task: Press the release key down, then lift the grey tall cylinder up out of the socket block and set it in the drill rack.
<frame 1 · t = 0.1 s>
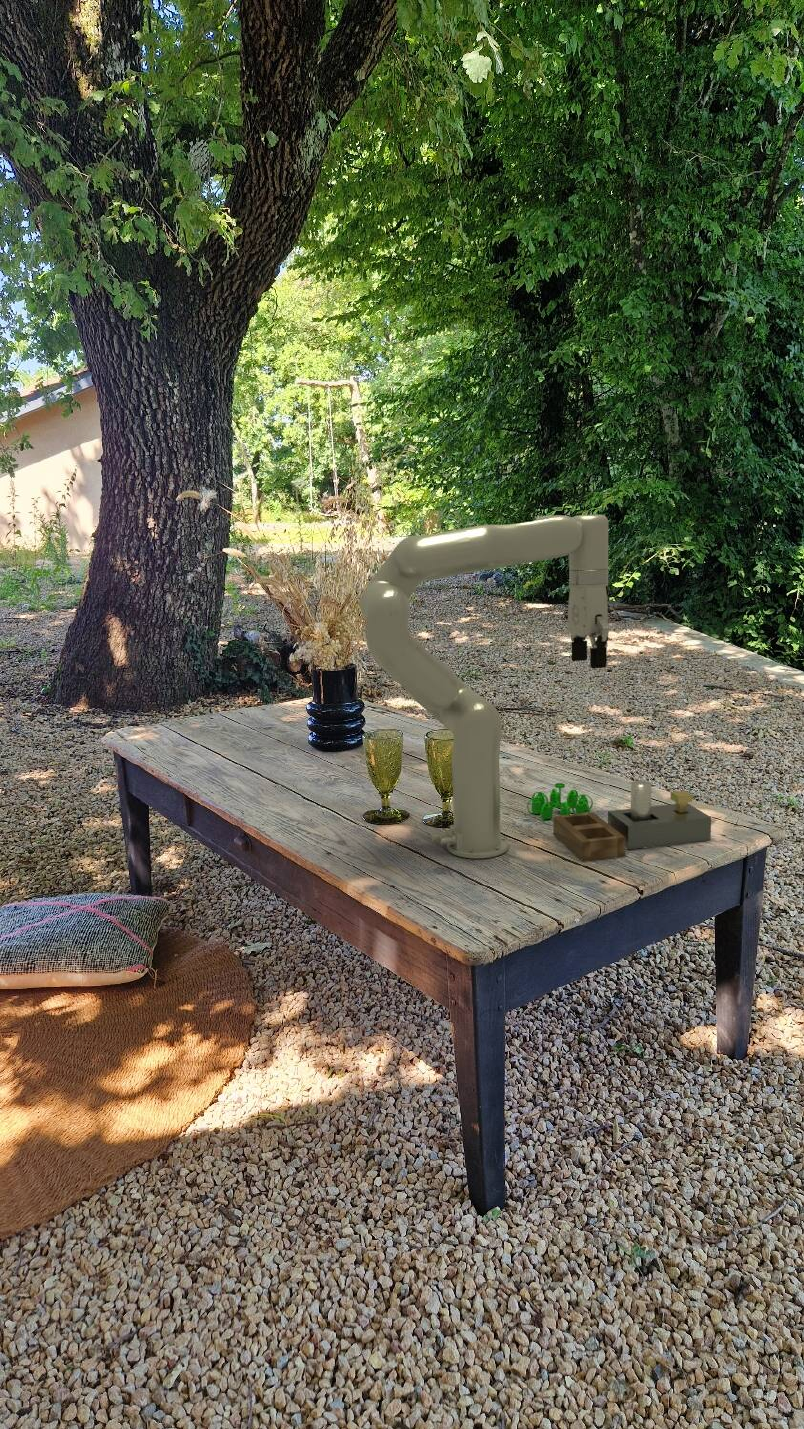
hand: (588, 663, 183), 37 cm above the table, tool pointing down, fingers open, 9 cm apart
chandelier: (560, 814, 206), on the table
drill rack: (587, 845, 185), on the table
socket block: (658, 837, 188), on the table
release key: (681, 808, 188), point 6 cm above the table, slide at 0.0 cm
grey tall cylinder: (640, 839, 187), resting in socket block
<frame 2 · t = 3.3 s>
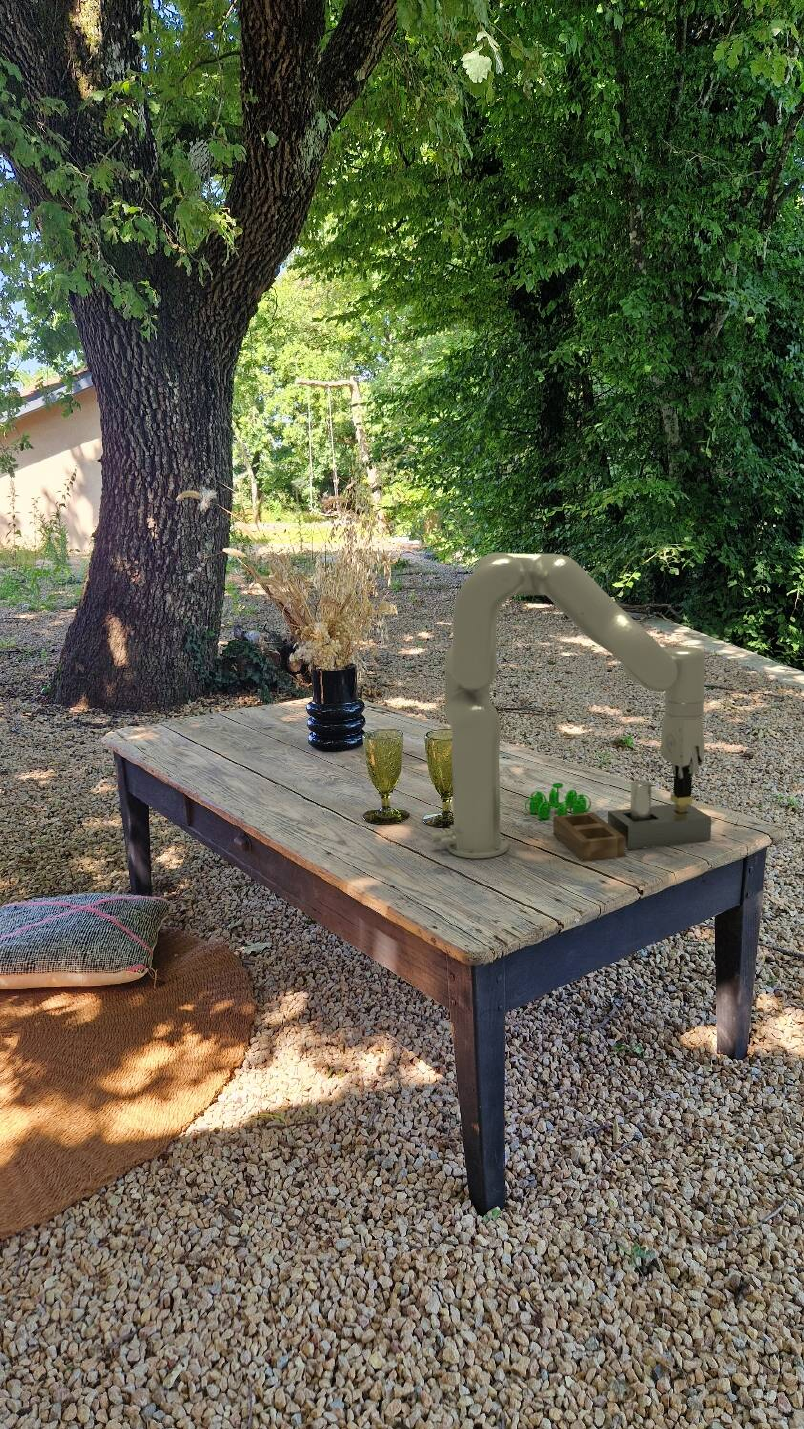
hand: (682, 794, 187), 9 cm above the table, tool pointing down, fingers closed
release key: (681, 810, 188), point 5 cm above the table, slide at 0.4 cm, touching gripper
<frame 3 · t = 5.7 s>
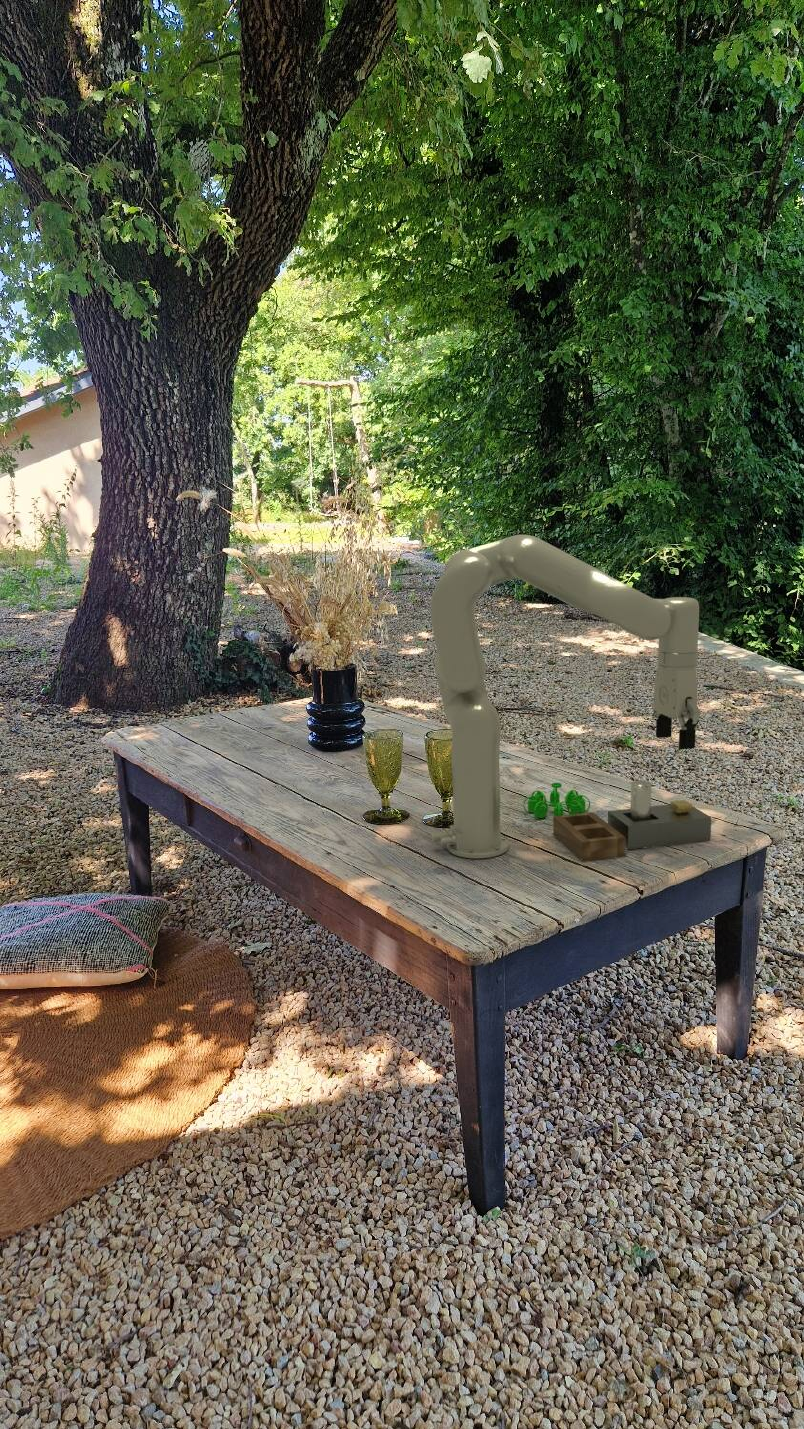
hand: (674, 742, 184), 20 cm above the table, tool pointing down, fingers open, 9 cm apart
release key: (680, 818, 188), point 4 cm above the table, slide at 2.1 cm
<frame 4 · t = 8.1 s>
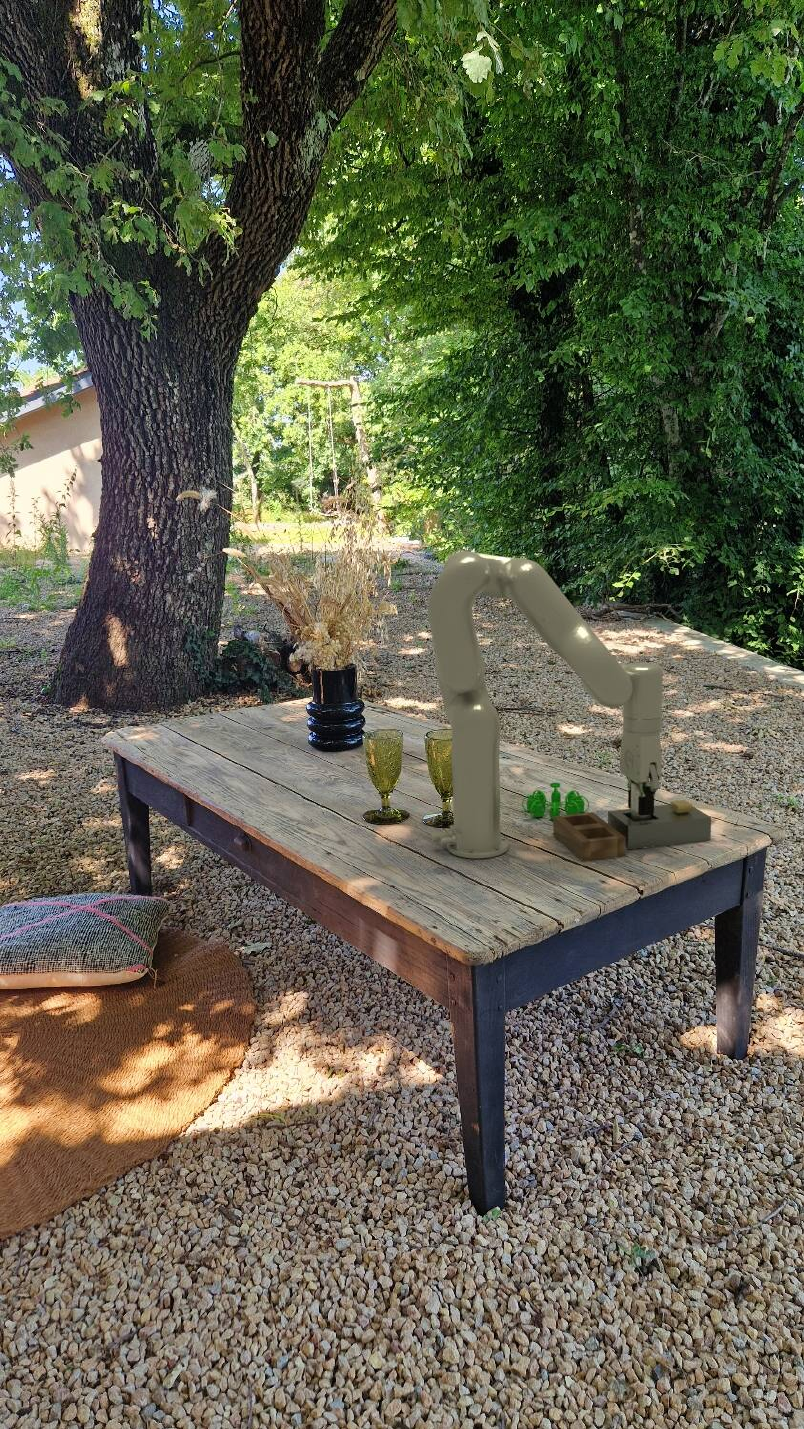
hand: (640, 810, 186), 6 cm above the table, tool pointing down, fingers closed on grey tall cylinder, 4 cm apart
grey tall cylinder: (640, 839, 187), resting in socket block, touching gripper
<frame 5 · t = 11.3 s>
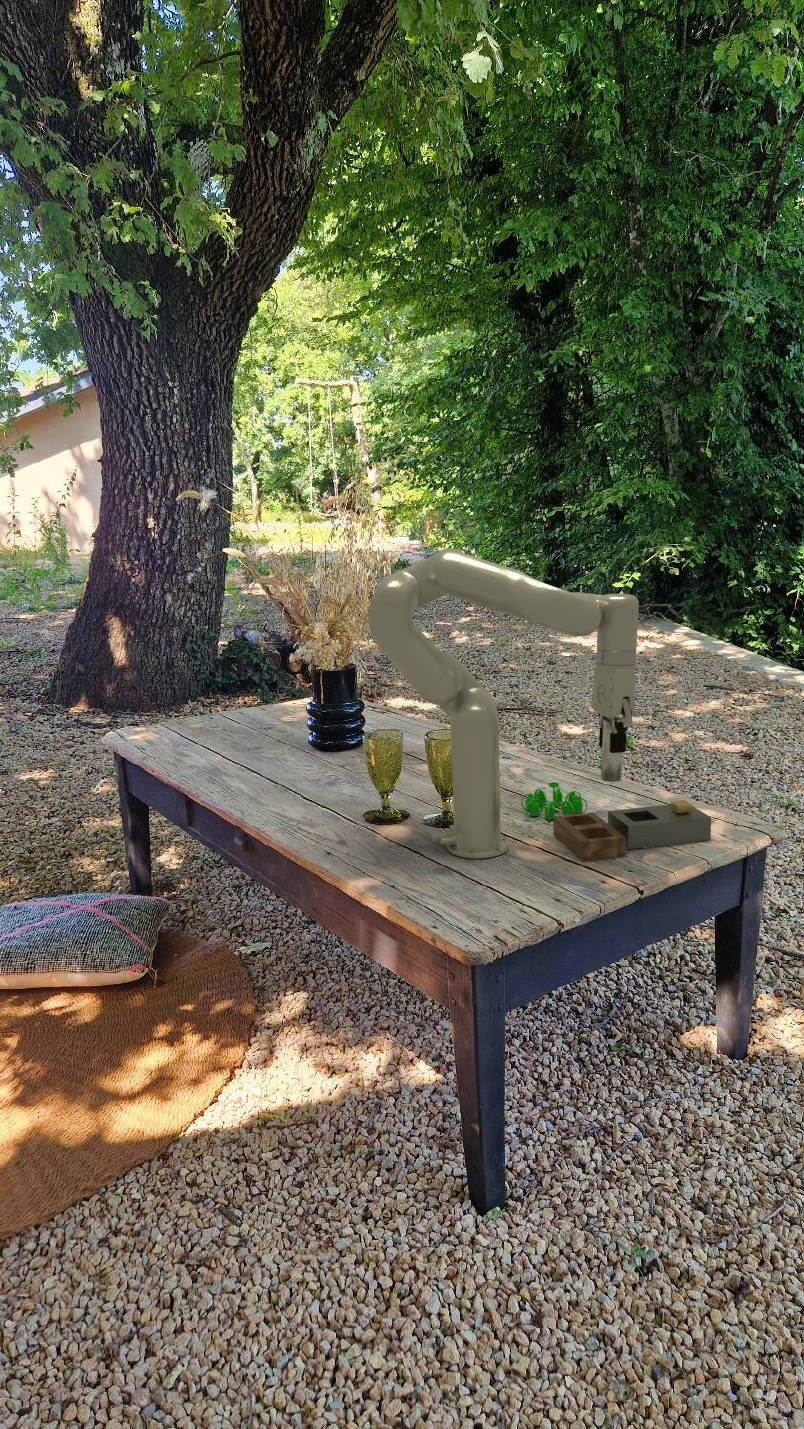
hand: (612, 748, 180), 21 cm above the table, tool pointing down, fingers closed on grey tall cylinder, 4 cm apart
grey tall cylinder: (611, 778, 181), point 14 cm above the table, touching gripper
when the fingers open (8 cm above the table, at t = 14.4 s): grey tall cylinder drops 2 cm, resting in drill rack.
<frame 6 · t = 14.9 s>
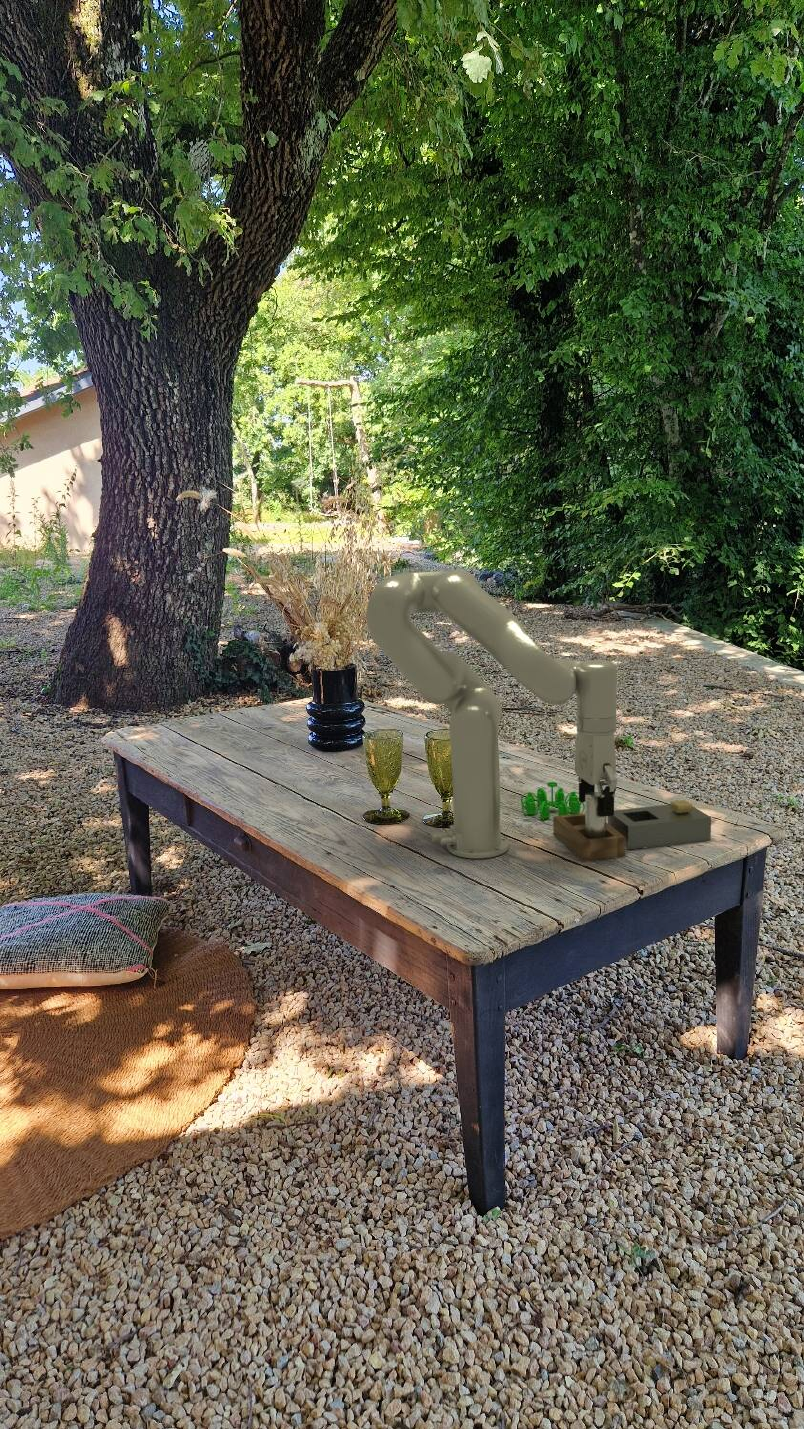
hand: (595, 808, 180), 9 cm above the table, tool pointing down, fingers open, 9 cm apart
grey tall cylinder: (595, 851, 182), resting in drill rack
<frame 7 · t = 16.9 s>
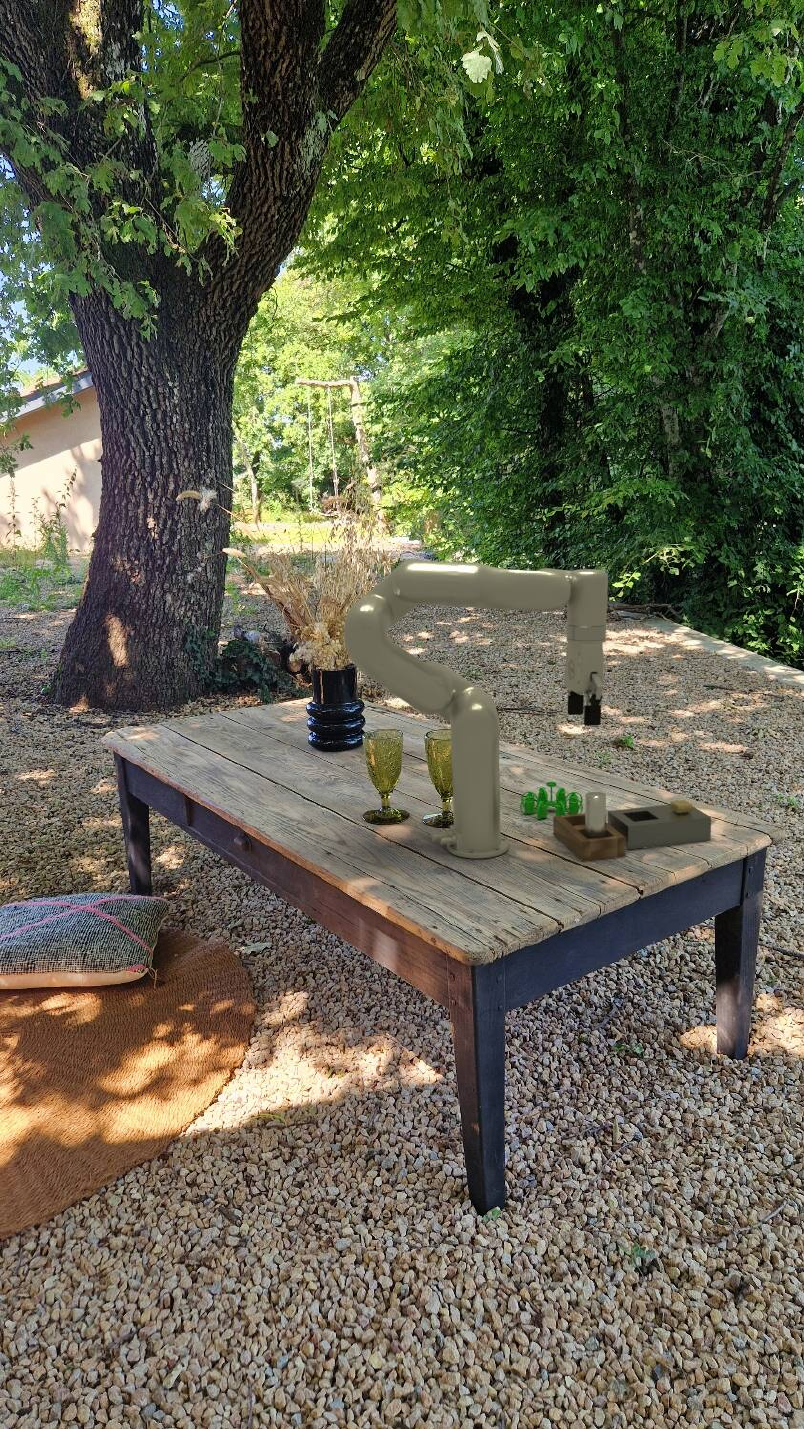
hand: (583, 719, 179), 27 cm above the table, tool pointing down, fingers open, 9 cm apart
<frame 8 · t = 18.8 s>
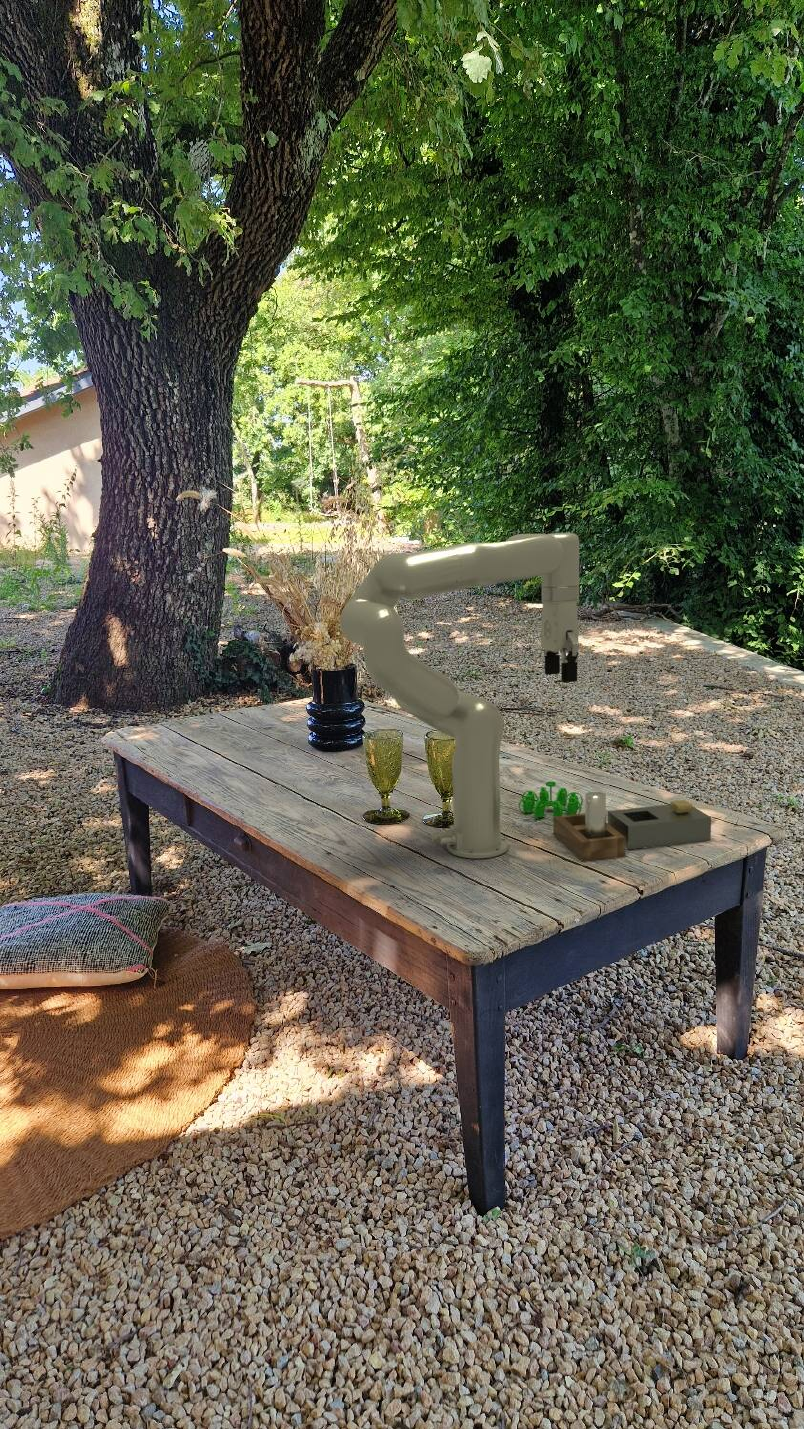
hand: (560, 677, 187), 33 cm above the table, tool pointing down, fingers open, 9 cm apart
at the end: release key slide at 2.1 cm; grey tall cylinder 0.1 cm from the target spot on the drill rack, point 0.0 cm above the drill rack's base; grey tall cylinder tilted 0° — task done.
